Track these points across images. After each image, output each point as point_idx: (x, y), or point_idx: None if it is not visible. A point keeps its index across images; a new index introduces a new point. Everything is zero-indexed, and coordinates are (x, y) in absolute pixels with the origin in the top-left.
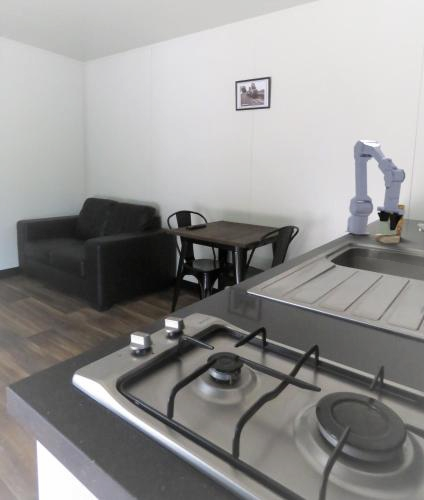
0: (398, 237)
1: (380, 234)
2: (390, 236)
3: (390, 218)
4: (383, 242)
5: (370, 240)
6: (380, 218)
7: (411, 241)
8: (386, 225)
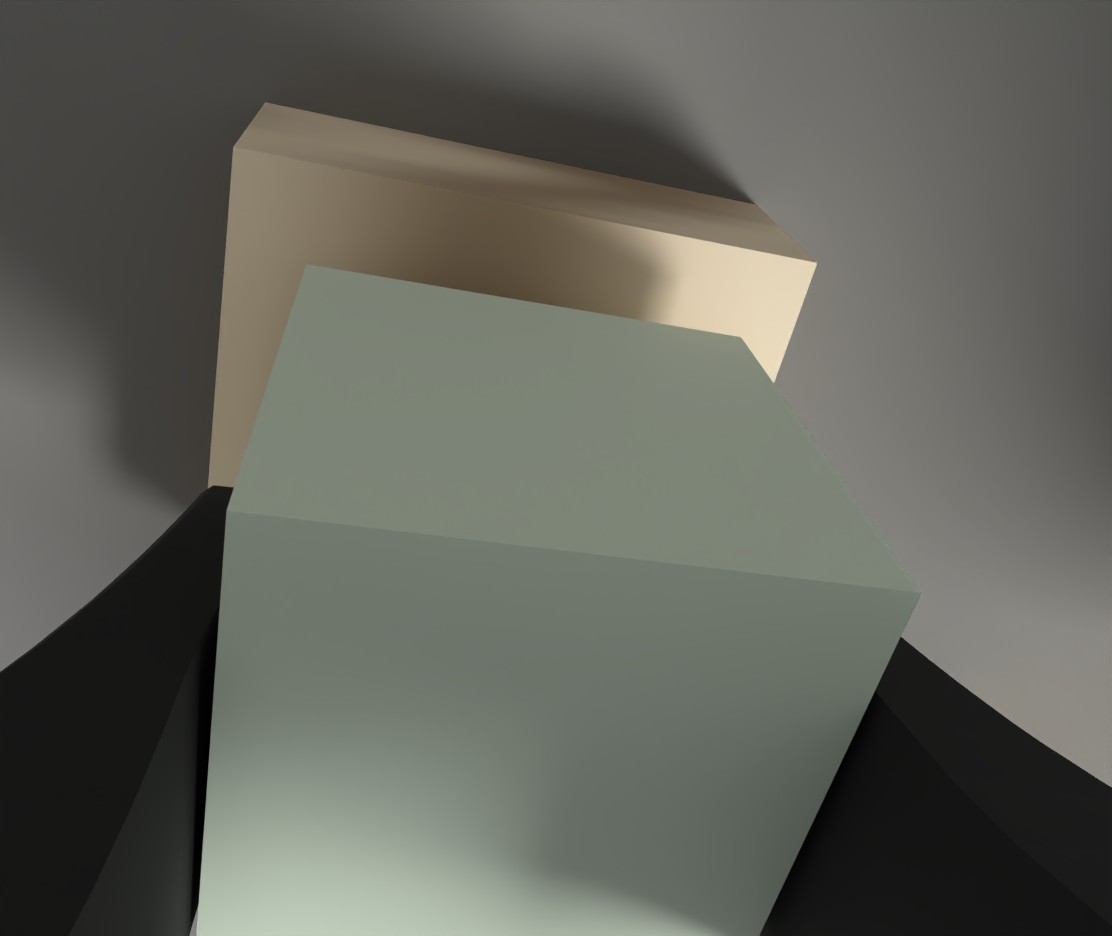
0: None
1: None
2: None
3: (23, 830)
4: (335, 117)
5: (782, 31)
6: (1045, 792)
7: None
8: (314, 436)
